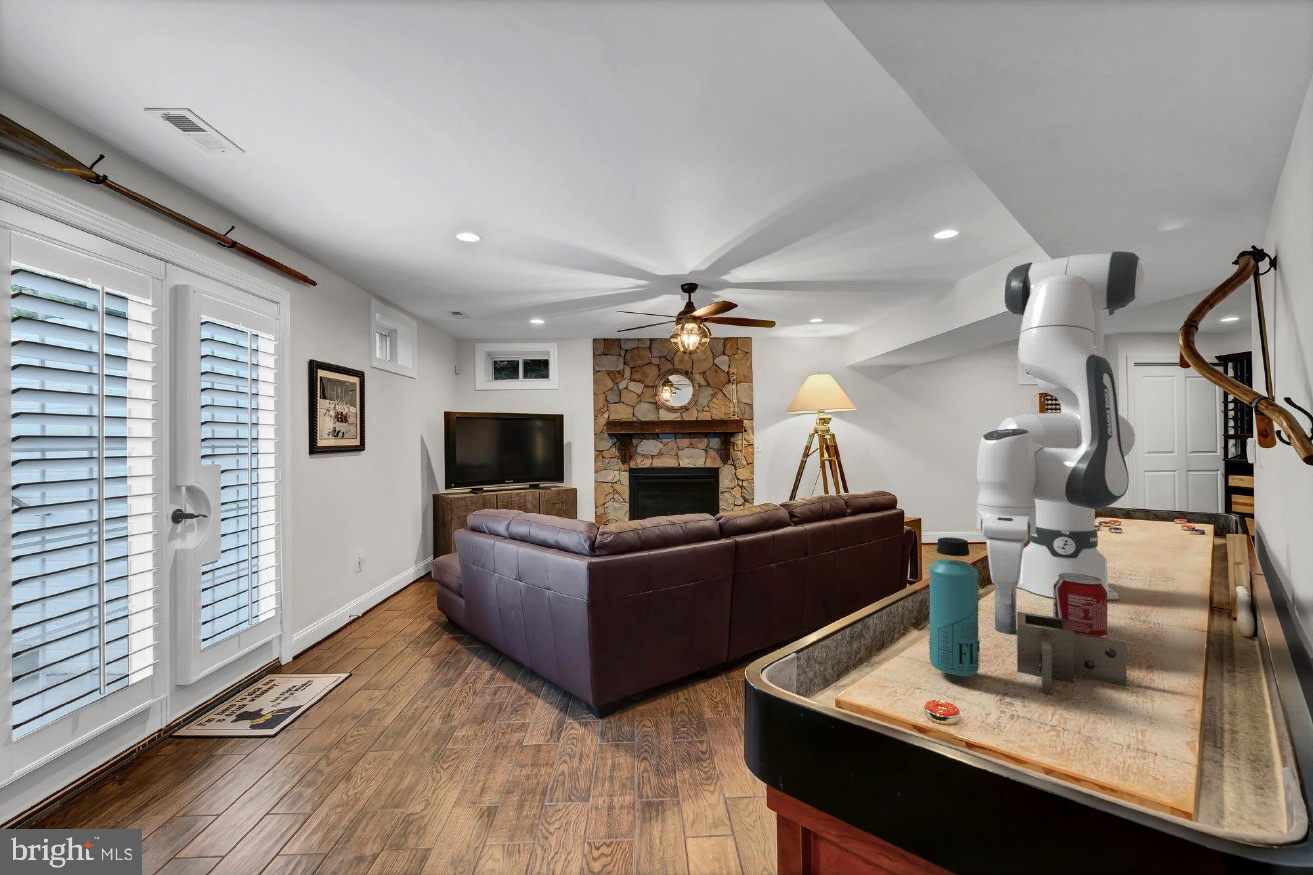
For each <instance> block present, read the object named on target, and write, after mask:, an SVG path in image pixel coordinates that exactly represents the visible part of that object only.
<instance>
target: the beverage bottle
mask: <svg viewBox="0 0 1313 875" xmlns="http://www.w3.org/2000/svg"><path fill="white" fill-rule="evenodd" d="M936 546H937V547H936V553H937V554H939V555H943V556H944V555H945V556H949V557H950V556H951V557H968V556H969V555H970V549H969V541H968V540H967V539H964V538H960V537H947V536H945V537H939V538H937V544H936ZM928 571H929V615H928V616H929V618H928V628H929V638H928V640H929V641H928V644H929V647H928V650H929V652H928V654H929V657H928V658H929V660H930V664H931V665H932V667H933V668H935V669H937V670H938V671H940V672H943V673H946V674H950V675H954V676H961V677H962V676H963V677H967V676H968V677H969V676H974V675H976V674H977V673H978V670H979V669H980V666H981V664H980V663H981V651H980V642H981V641H980V640H981V639H980V637H979V632H980V631H979V630H980V627H979V615H980V609H979V605H980V604H979V603H980V596H979V587H978V583H979V582H978V580H979V579H978V577H979V571H978V570H977V569H976V568H975V567H974V566H973V565H972V564H971V563H969V562H968V561H963V560H958V559H950V558H949V559H948V558H944V559H943V558H942V559H938V560H936V561H934V562H933V563H932V564H931V565H930V566H929V567H928Z"/></svg>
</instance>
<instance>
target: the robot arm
mask: <svg viewBox="0 0 1313 875" xmlns="http://www.w3.org/2000/svg"><path fill="white" fill-rule="evenodd" d="M1144 281H1145V269H1144V266H1143V264H1142V262H1141V261H1140V256H1138V255H1137V254H1136V253H1135V252H1131V251H1120V250H1119V251H1116V250H1115V251H1112V252H1111V253H1110V252H1109V253H1103V252H1102V253H1100V252H1099V253H1084V254H1073V255H1070V256H1067V257H1066V256H1065V257H1059V258H1058V257H1057V258H1052V259H1047V260H1043V261H1038V262H1026V263H1023V264H1020V265H1017V266H1015V267H1013V268H1012V270H1011V271H1009V272H1008V273H1007V275H1006V278H1005V281H1004V284H1003V286H1002V297H1003V302H1004V304H1005V308H1006V309H1007V310H1008V312H1011V313H1012V314H1014V315H1019V316H1022V321H1021V325H1020V326H1021V327H1020V331H1019V332H1020V333H1019V339H1018V348H1017V355H1018V362H1019V364H1020V365H1021V367H1022V368H1023V369H1024V371H1025V372H1027V373H1028V374H1029V375H1030V376H1031V377H1033V378H1035V382H1036V384H1037V386H1038V387H1039V388H1040V390H1042V391H1043V392H1045V393H1046V394H1048V395H1051V396H1053V397H1055V398H1056V399H1057V400H1058V402H1059V405H1060V412H1045V413H1044V412H1040V413H1039V412H1036V413H1035V412H1034V413H1033V412H1032V413H1031V412H1030V413H1024V414H1020V415H1019V414H1018V415H1014V416H1010V417H1006V418H1005V419H1003V420H1002V421H1001V422H1000V424H999V425H998V427H997V429H996V430H992V431H989V432H986V433H984V434H983V435H982V436H981V438H980V440H979V444H978V450H977V454H976V472H975V473H976V482H977V485H978V495H977V499H976V529H977V530H979V531H980V532H981V535H982V537H983V538H984V539H985V542H986V549H987V550H986V551H987V559H988V566H989V573H990V579H991V582H992V584H994V585H995V584H997V585H998V588H999V601H1000V602H1001V603H1004V604H1011V602H1012V586H1013V587H1015V586H1016V588H1020V589H1023V590H1026V591H1028V592H1031V593H1034V594H1036V595H1040V596H1043V597H1044V596H1045V597H1049V598H1053V585H1054V583H1055V582H1056V581H1057V580H1058V579H1059V577H1058V574H1061V573H1077V574H1085V575H1090V576H1094V577H1097V578H1100V579H1101V580H1102V583H1101V584H1102V586H1103V587H1104V588H1105V590H1106V591H1107V600H1119V599H1120V595H1119V593H1118V592H1116V591H1115V590H1113V589H1112V588H1111V587H1110V586H1109V582H1108V581H1109V580H1108V559H1107V557H1105V556H1104V555H1103V554H1102V553H1101V552H1100V551H1099V550H1098V549H1097V547H1099V544H1098V543H1099V535H1098V530H1097V529H1096V518H1095V517H1096V510H1103V509H1104V508H1107V507H1109V506H1111V505H1113V504H1114V503H1116V502H1117V501H1119V500H1120V499H1121V498H1123V496H1125V495H1126V493H1127V491H1128V489H1129V484H1130V482H1129V481H1130V480H1129V471H1128V467H1127V462H1126V460H1125V458H1126V457H1127V456H1128V455H1129V454H1130V453H1131V451H1132V450H1133V448H1134V446H1135V441H1136V434H1135V430H1134V427H1133V425H1132V424H1131V423H1130V421H1129V420H1128V419H1126V418H1125V417H1124V416H1122V415H1121V414H1119V408H1118V397H1117V390H1116V381H1115V378H1114V376H1115V375H1114V372H1113V369H1112V367H1111V364H1110V363H1109V361H1108V360H1107V359H1106V358H1104V357H1103V356H1104V355H1103V352H1104V343H1105V342H1104V338H1105V328H1104V317H1103V316H1104V315H1103V310H1108V316H1113V315H1115V311H1118V310H1120V309H1124V308H1125V307H1127V306H1128V305H1129V304H1131V303H1132V302H1134V300H1136V297H1137V295H1138V294H1139V292H1140V291H1141V289H1142V288H1143V284H1144ZM1028 540H1029V541H1030V542H1029V544H1027V546H1025V544H1026V543H1027V542H1028Z"/></svg>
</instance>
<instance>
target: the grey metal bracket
mask: <svg viewBox="0 0 1313 875" xmlns="http://www.w3.org/2000/svg"><path fill="white" fill-rule="evenodd" d="M1016 634H1017V635H1016V636H1017V638H1016V646H1017V648H1016V651H1017V653H1016V658H1017V659H1016V661H1017V663H1016V664H1017V668H1016V670H1017V672H1018V673H1023V674H1028V675H1032V676H1038V677H1040V681H1041V683H1040V684H1041V691H1042V694H1044V695H1049V696H1052V692H1053V690H1052V689H1053V687H1052V686H1053V683H1052V682H1053V679H1054V680H1057V681H1058V680H1059V681H1063V682H1069V683H1073V684H1074V682H1075V677H1078V678H1084V679H1090V680H1095V681H1099V682H1100V681H1101V682H1106V683H1111V684H1116V685H1120V686H1121V685H1122V686H1127V685H1128V684H1127V682H1128V681H1127V679H1128V678H1127V676H1128V675H1127V670H1128V668H1127V664H1128V663H1127V662H1128V661H1127V658H1128V657H1127V654H1128V652H1127V650H1128V649H1127V648H1128V643H1127V641H1126V640H1125V639H1121V638H1120V639H1119V638H1113V637H1108V636H1107V637H1101V636H1095V635H1089V634H1082V633H1076V632H1073V628H1072V625H1071V621H1070V619H1064V618H1057V617H1053V616H1050V615H1042V614H1037V613H1031V612H1030V613H1029V612H1022V611H1016Z"/></svg>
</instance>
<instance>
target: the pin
mask: <svg viewBox="0 0 1313 875" xmlns="http://www.w3.org/2000/svg"><path fill="white" fill-rule="evenodd" d="M994 630H995V631H996V632H999V633H1001V634H1007V635H1015V634H1017V587H1016V586H1015V587H1013V586H1012V602H1011V604H1004V603H1001V602H1000V601H999V588H998V585H997V584H994Z"/></svg>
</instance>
